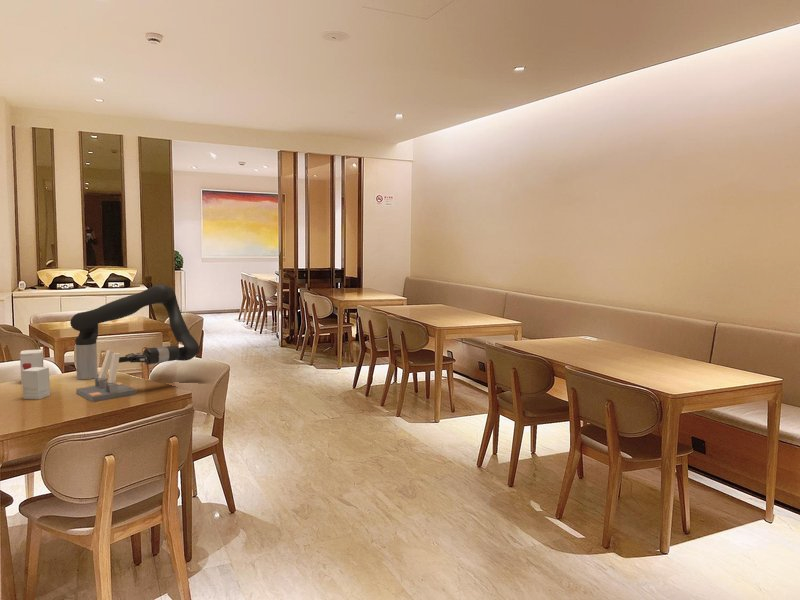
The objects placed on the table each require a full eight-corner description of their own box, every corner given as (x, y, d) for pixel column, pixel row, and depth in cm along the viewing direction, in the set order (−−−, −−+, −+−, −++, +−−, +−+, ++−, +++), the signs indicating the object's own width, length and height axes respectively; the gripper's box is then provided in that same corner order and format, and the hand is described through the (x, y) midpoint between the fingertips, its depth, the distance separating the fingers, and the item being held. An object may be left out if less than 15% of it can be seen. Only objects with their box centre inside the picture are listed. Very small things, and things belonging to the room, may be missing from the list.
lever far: (96, 382, 249) (107, 349, 252) (101, 382, 251) (112, 350, 254) (98, 383, 247) (109, 350, 250) (103, 384, 249) (114, 351, 252)
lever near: (106, 387, 242) (112, 352, 242) (112, 387, 243) (117, 353, 244) (109, 388, 240) (114, 353, 240) (114, 388, 241) (120, 354, 242)
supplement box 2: (51, 395, 242) (49, 367, 241) (38, 399, 235) (36, 370, 234) (35, 394, 243) (34, 366, 242) (22, 399, 236) (20, 370, 235)
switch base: (76, 393, 246) (75, 380, 246) (118, 386, 259) (118, 373, 259) (92, 401, 233) (92, 388, 232) (136, 394, 246) (135, 380, 245)
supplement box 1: (20, 384, 261) (19, 353, 260) (22, 380, 269) (20, 350, 267) (43, 382, 265) (41, 351, 264) (44, 378, 273) (43, 348, 272)
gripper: (149, 345, 260) (111, 349, 247) (162, 349, 251) (123, 353, 238) (150, 361, 261) (111, 366, 248) (163, 365, 252) (124, 370, 239)
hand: (117, 360), depth 243 cm, fingers closed
